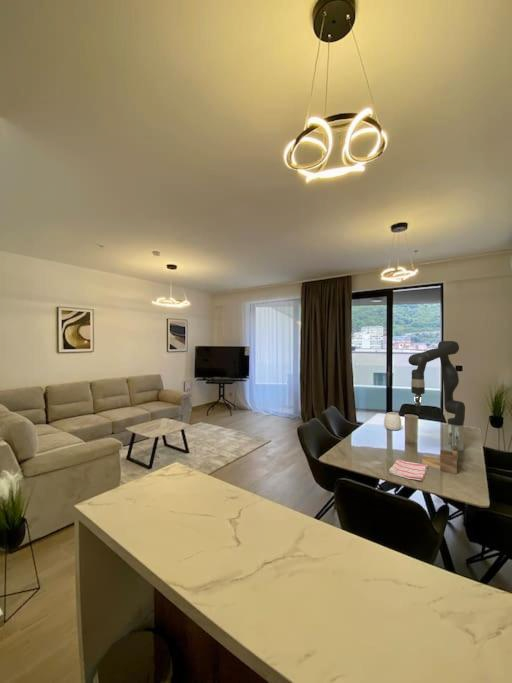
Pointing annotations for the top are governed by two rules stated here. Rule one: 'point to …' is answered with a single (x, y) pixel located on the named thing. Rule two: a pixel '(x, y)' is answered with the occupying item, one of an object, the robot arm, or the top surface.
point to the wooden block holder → (449, 460)
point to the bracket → (449, 447)
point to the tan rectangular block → (431, 461)
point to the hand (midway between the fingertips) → (418, 410)
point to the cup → (392, 421)
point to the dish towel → (409, 470)
